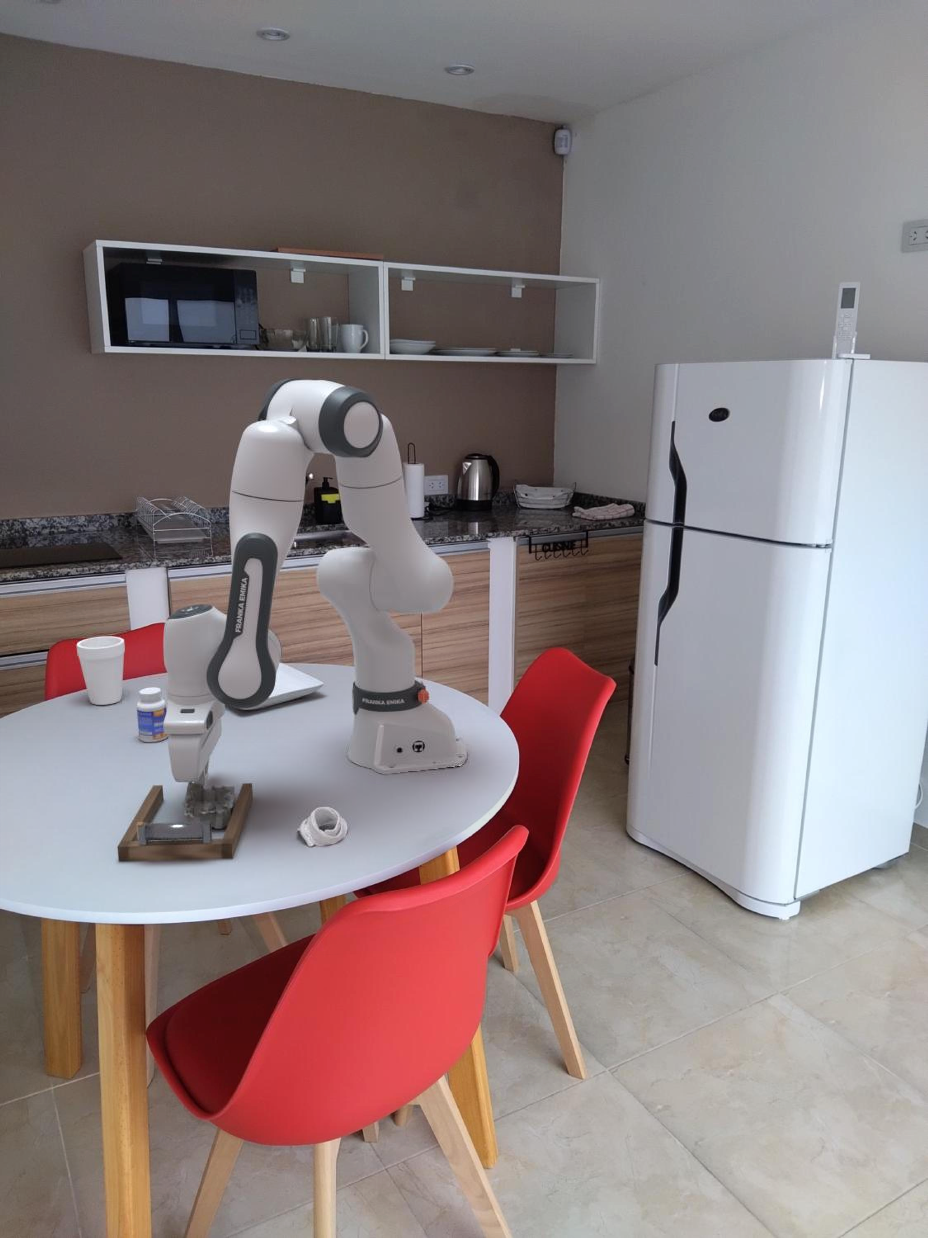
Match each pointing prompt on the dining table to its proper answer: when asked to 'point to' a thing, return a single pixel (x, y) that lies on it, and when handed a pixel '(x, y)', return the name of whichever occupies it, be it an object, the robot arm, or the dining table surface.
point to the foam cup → (102, 668)
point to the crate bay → (183, 848)
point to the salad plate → (290, 686)
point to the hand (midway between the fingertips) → (201, 783)
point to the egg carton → (209, 804)
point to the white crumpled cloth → (318, 819)
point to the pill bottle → (151, 715)
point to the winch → (174, 831)
